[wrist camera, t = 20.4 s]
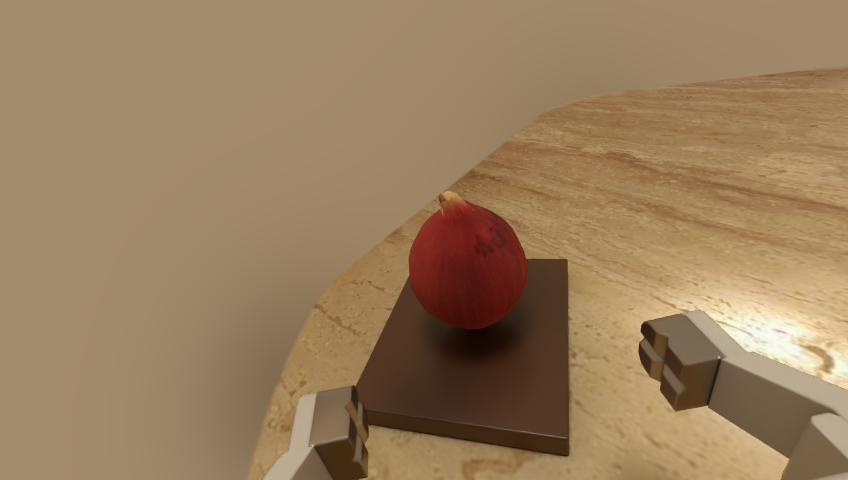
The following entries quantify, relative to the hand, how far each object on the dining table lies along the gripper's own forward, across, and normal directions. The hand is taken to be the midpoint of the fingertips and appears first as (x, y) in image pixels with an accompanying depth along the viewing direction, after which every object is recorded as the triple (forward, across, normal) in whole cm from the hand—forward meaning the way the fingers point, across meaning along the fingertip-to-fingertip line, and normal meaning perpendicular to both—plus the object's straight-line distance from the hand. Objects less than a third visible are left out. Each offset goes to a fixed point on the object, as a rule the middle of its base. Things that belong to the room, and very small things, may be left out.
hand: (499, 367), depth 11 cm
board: (+9, 0, +8) cm, 12 cm away
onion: (+9, 0, +7) cm, 11 cm away
